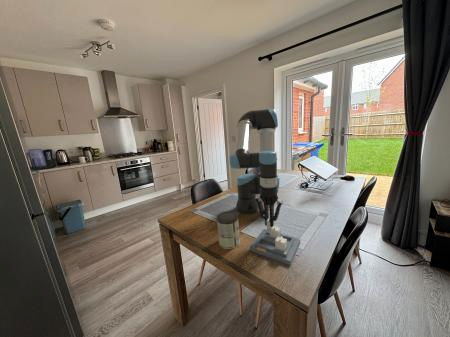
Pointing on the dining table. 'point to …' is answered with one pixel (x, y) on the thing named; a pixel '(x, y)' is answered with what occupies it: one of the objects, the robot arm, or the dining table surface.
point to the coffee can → (228, 230)
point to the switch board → (267, 247)
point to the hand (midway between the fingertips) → (269, 231)
